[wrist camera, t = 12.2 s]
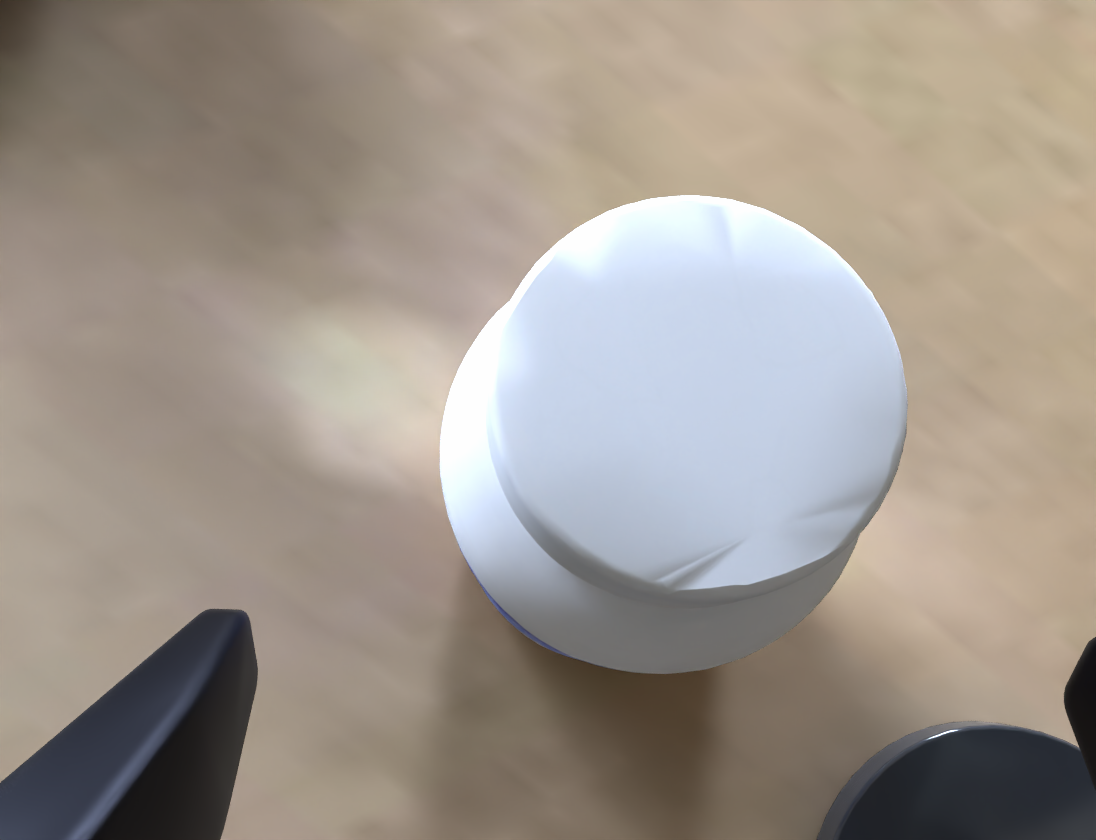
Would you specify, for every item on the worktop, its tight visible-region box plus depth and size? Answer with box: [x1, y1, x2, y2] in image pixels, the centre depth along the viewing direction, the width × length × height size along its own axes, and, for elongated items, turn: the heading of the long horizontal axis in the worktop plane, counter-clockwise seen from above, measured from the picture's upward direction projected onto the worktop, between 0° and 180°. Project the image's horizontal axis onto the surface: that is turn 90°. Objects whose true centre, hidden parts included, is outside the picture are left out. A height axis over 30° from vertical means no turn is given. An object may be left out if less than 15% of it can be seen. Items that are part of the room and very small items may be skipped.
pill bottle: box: [440, 196, 908, 674], centre depth 13 cm, size 5×5×10 cm
